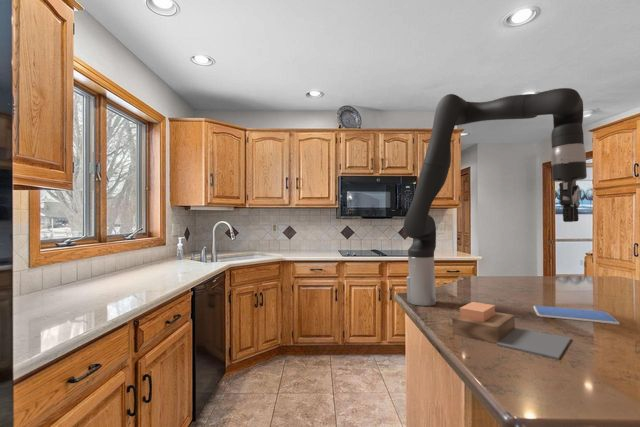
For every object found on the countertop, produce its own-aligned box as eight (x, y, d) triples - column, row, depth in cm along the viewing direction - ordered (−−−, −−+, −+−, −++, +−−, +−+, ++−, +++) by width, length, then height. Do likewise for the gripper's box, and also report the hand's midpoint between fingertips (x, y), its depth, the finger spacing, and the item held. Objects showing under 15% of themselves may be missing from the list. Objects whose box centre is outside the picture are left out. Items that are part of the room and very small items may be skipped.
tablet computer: (606, 315, 101) (606, 310, 101) (621, 326, 89) (620, 322, 89) (533, 308, 110) (532, 305, 110) (538, 318, 98) (537, 314, 98)
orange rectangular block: (460, 317, 86) (459, 307, 86) (472, 310, 93) (472, 301, 93) (483, 321, 82) (483, 311, 82) (495, 314, 88) (494, 305, 88)
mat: (496, 345, 77) (496, 343, 77) (515, 329, 88) (515, 327, 88) (558, 359, 68) (558, 357, 68) (570, 339, 79) (570, 337, 79)
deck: (453, 333, 85) (452, 318, 85) (472, 321, 95) (472, 308, 95) (498, 344, 77) (497, 327, 77) (514, 329, 87) (514, 315, 87)
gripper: (556, 167, 96) (559, 221, 95) (546, 161, 86) (549, 222, 85) (589, 164, 90) (591, 221, 90) (582, 157, 80) (585, 221, 80)
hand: (571, 221), depth 87 cm, fingers open, 8 cm apart
